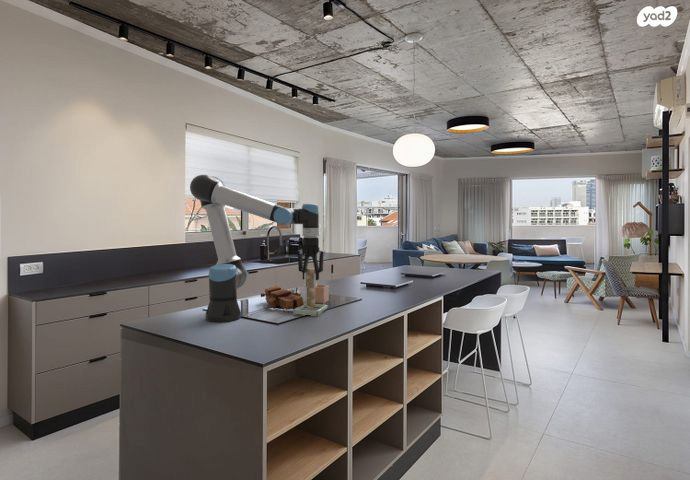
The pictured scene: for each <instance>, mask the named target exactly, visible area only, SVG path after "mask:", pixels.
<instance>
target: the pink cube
mask: <svg viewBox="0 0 690 480" xmlns="http://www.w3.org/2000/svg"><path fill="white" fill-rule="evenodd" d="M329 289H330V285H328V284H317V287H315V304H325V303H327V302H329V300H330V298H329V297H330V295H329V294H330V290H329Z"/></svg>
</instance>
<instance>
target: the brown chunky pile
mask: <svg viewBox="0 0 690 480" xmlns="http://www.w3.org/2000/svg"><path fill="white" fill-rule="evenodd" d="M260 297H261V298H265V301H266V303H267V304H268V306H269V307H271V308H272V309H274V308H275V307H278V308H282V309H284V310H286V311H288V310H294V309H295V308H297V307H300V306H302V305H304V304H305V303H304V299H303V296H301V293H300V292H299V293H298V287H296V288H295V292H293V291H290V290H288V289H285V288H281V287H280V286H277V285H276V286H273V287H267V288H265V289H264V292H263V293H260Z"/></svg>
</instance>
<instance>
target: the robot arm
mask: <svg viewBox="0 0 690 480" xmlns="http://www.w3.org/2000/svg"><path fill="white" fill-rule="evenodd" d="M189 191H190V194H191V195H192V196H193V197H194V198H195V199H197V201H199V202H200V206H201V208H202V209H203V210H205V213H206V215H207V219H208V224H209V227H210V231H211V236H212V239H213V244H214V248H215V252H216V255H217V259H218V260H217V261H216V264H214V265H212V266H211V267H210V268H209V269H208V293H209V297H208V298H209V301H208V305H207V308H206V312H205V320H206V321H207V322H212V323H214V322H215V323H223V322H227V323H228V322H232V321H237V320H239V319H241V318H242V312H241V308H240V306H239V303H238V298H237V297H238V296H237V295H238V291H237V290H238V289H239V288H241V287H243V286H244V284H245V283H246V281H247V278H248V272H247V268H246V267H245V266H244V265H243V261H242V258H241V257H239V256H238V255H237V252H236V247H235V243H234V240H233V235H232V232H231V229H230V228H231V227H230V224H229V219H228V215H227V209H226V207H225V206H227V207H230V208H233V209H236V210H239V211H242V212H245V213H247V214H250V215H253V216H255V217H259V218H261V219H265V220H267V221H270V222H273V223H276V224H278V225H280V226H287V225H302V247H301V249H299V250H296V254H297V261H298V262H297V264H298V267H297V268H298V271H299V272H301V273H302V280H303V282H304V288H307V269H308V265H309V259H310V258H312V263H313V268H314V269H315V273H314V287H317V285H318V281H319V280H320V273H323V272H324V257H325V254H326V253H325V252H326V251H325V250H322V249H320V246H319V245H320V244H319V243H320V240H319V239H320V238H319V236H320V235H319V234H320V233H319V232H320V231H319V226H320V225H319V223H320V219H319V218H320V213H319V205H318V204H316V203H303V204H302V207H298V208H297V207H296V208H295V207H291V208H290V207H285V206H283V205H282V206H281V205H279V204H276V203H274V202H270V201H267V200H264V199H261V198H260V197H256V196H253V195H251V194H248V193H244V192H241V191H239V190H235V189H233V188H229V187H227V186H226V185H225V183H224V181H223V180H221V179H220V178H218V177H216V176H210V175H207V174H200V175H196V176H195V177H194V178H193V179H192V180H191V182H190V185H189ZM318 254H319V258H318ZM303 255H304V260H303ZM318 259H319V262H318Z"/></svg>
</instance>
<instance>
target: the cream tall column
mask: <svg viewBox="0 0 690 480" xmlns="http://www.w3.org/2000/svg"><path fill="white" fill-rule="evenodd" d="M314 273H315V268H314V267H313V268H310V267H309V268H308V267H307V287H306V304H307V307H306V308H310V309H314V308H316V307H315V304H316V303H315V287H314Z"/></svg>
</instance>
